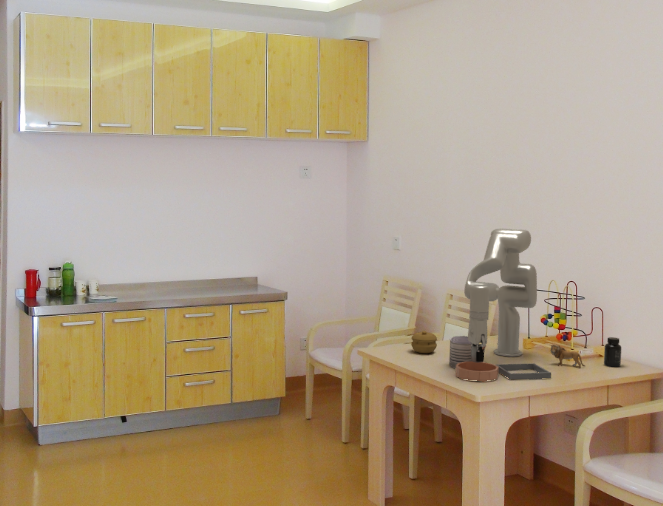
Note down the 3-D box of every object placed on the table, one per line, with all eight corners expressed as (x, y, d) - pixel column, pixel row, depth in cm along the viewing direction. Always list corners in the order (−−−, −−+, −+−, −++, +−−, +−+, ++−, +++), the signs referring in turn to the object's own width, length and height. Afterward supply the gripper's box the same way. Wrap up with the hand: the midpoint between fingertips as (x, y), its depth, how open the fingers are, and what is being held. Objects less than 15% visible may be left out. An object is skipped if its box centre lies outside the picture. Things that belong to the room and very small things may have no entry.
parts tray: (494, 370, 314) (494, 364, 313) (534, 369, 317) (534, 363, 316) (509, 380, 298) (509, 374, 298) (550, 378, 301) (551, 372, 301)
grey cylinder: (469, 359, 304) (469, 345, 304) (480, 359, 305) (481, 345, 305) (473, 362, 299) (474, 347, 299) (485, 362, 300) (485, 347, 300)
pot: (441, 352, 345) (442, 331, 344) (426, 356, 336) (427, 334, 335) (421, 348, 353) (421, 327, 352) (405, 352, 344) (406, 330, 343)
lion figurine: (549, 365, 324) (550, 344, 323) (550, 362, 329) (551, 342, 328) (584, 368, 318) (586, 348, 318) (585, 366, 323) (586, 345, 322)
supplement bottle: (619, 364, 327) (621, 337, 326) (621, 368, 321) (622, 340, 320) (603, 363, 329) (604, 336, 328) (604, 366, 323) (605, 339, 322)
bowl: (450, 371, 310) (450, 361, 309) (488, 370, 313) (488, 360, 312) (464, 382, 293) (464, 372, 293) (504, 381, 296) (504, 370, 296)
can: (479, 365, 322) (480, 338, 320) (470, 371, 312) (471, 342, 311) (454, 361, 327) (455, 334, 326) (444, 367, 318) (445, 339, 317)
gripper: (462, 312, 308) (461, 355, 310) (477, 319, 292) (476, 365, 293) (480, 311, 310) (478, 355, 311) (495, 319, 293) (494, 364, 294)
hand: (477, 359), depth 302 cm, fingers closed on grey cylinder, 5 cm apart
